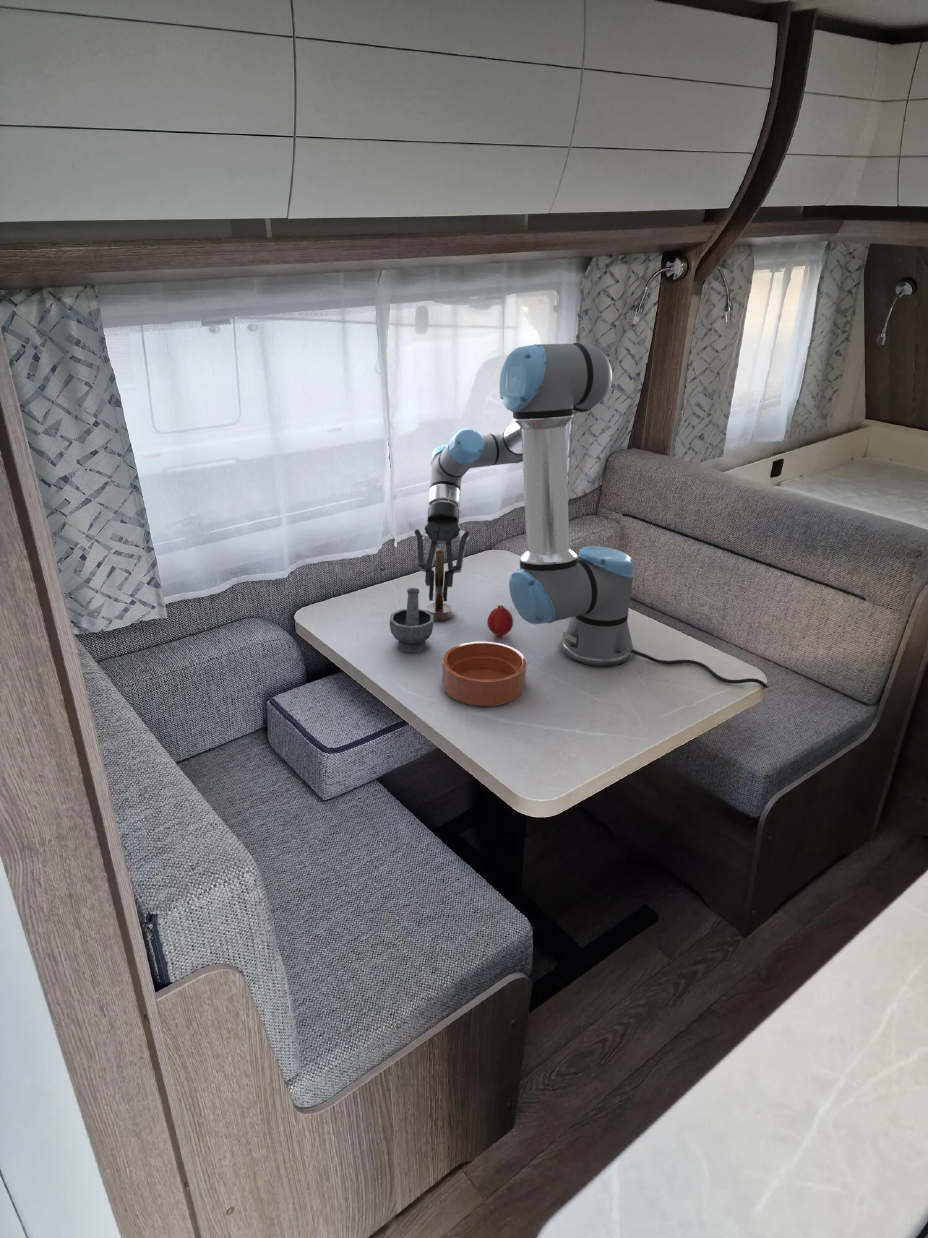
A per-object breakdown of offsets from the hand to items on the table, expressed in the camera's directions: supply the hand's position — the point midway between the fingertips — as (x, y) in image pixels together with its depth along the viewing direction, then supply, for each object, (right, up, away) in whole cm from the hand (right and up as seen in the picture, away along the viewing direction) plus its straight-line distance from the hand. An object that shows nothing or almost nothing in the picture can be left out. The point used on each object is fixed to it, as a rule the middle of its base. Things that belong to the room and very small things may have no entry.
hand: (437, 598), depth 188 cm
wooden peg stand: (0, -4, +6) cm, 7 cm away
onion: (+14, -9, -3) cm, 17 cm away
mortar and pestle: (-5, -10, -7) cm, 14 cm away
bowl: (+10, -18, -24) cm, 31 cm away
